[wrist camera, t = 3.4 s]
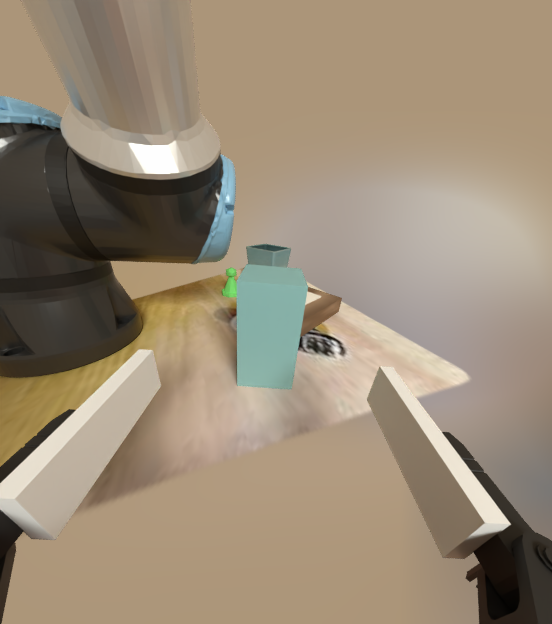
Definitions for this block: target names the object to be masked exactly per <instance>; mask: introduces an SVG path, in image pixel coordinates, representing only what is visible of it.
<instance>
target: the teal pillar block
mask: <svg viewBox="0 0 552 624" xmlns="http://www.w3.org/2000/svg"><path fill="white" fill-rule="evenodd" d="M307 291H308V285H307V283H306V280H305V278H304V275H303V273H302V270H301V269H298V268H287V267H275V266H263V265H251V264H247V265H246V266H245V268H244V270H243V271H242V273H241V275H240V276H239V278H238V280H237V386H249V387H264V388H278V389H292V383H293V377H294V371H295V365H296V358H297V352H298V346H299V340H300V334H301V328H302V322H303V315H304V309H305V303H306V297H307Z"/></svg>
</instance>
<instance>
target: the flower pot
mask: <svg viewBox="0 0 552 624" xmlns="http://www.w3.org/2000/svg"><path fill="white" fill-rule="evenodd" d="M246 249H247V257H248V264H251V265H263V266H275V267H287V265H288V260H289V256H290V251H291V248H287V247H281V246H275V245H269V244H261V245H254V246H247V247H246Z"/></svg>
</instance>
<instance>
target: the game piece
mask: <svg viewBox="0 0 552 624" xmlns="http://www.w3.org/2000/svg"><path fill="white" fill-rule="evenodd" d="M226 275H227V276H229V278H228V281H227V283H226V286H225V288H224V289H222V294H223V296H226V297H237V284H236V282H235V279H234V276H236V270H235V269H233V268H229V269H227V270H226Z"/></svg>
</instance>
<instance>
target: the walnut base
mask: <svg viewBox="0 0 552 624" xmlns="http://www.w3.org/2000/svg"><path fill="white" fill-rule="evenodd" d="M341 299H342V298H340V297H337V296H334V295H331V294H328V293H325V292H322V291H319V290H316V289H313V288H310V287H308V291H307V297H306V303H305V309H304V315H303V322H302V328H301V334H300V337H301V336H303V335H304V334H306V333H307V332H309V331H310V330H312V329H313V328H315V327H316V326H318V325H319V324H321V323H322V322H324V321H325V320H327V319H328V318H330V317H331V316H333V315H334V314H336V313H337V312H339V308H340V304H341Z"/></svg>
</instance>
